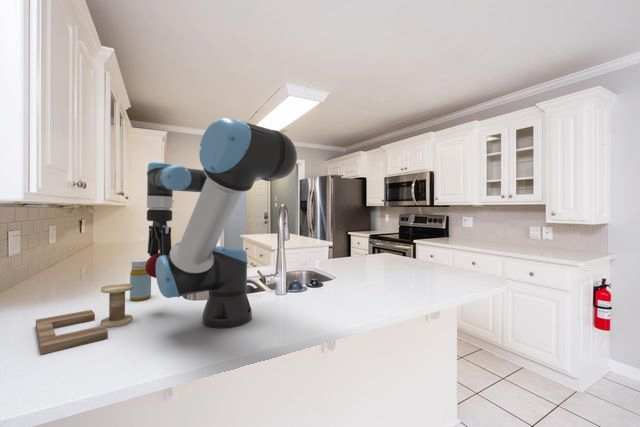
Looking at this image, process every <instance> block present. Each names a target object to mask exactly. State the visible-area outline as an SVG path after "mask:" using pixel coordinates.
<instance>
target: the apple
mask: <svg viewBox="0 0 640 427" xmlns="http://www.w3.org/2000/svg"><path fill="white" fill-rule="evenodd" d="M158 257H160V254H155V255H153V256H151V257H150V256H149V258H147V259H148V260H147V262H146V265H145V270H146V272H147V274H148V275H149V276H151V278H154V279H155V278H156V261H157V258H158Z"/></svg>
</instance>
